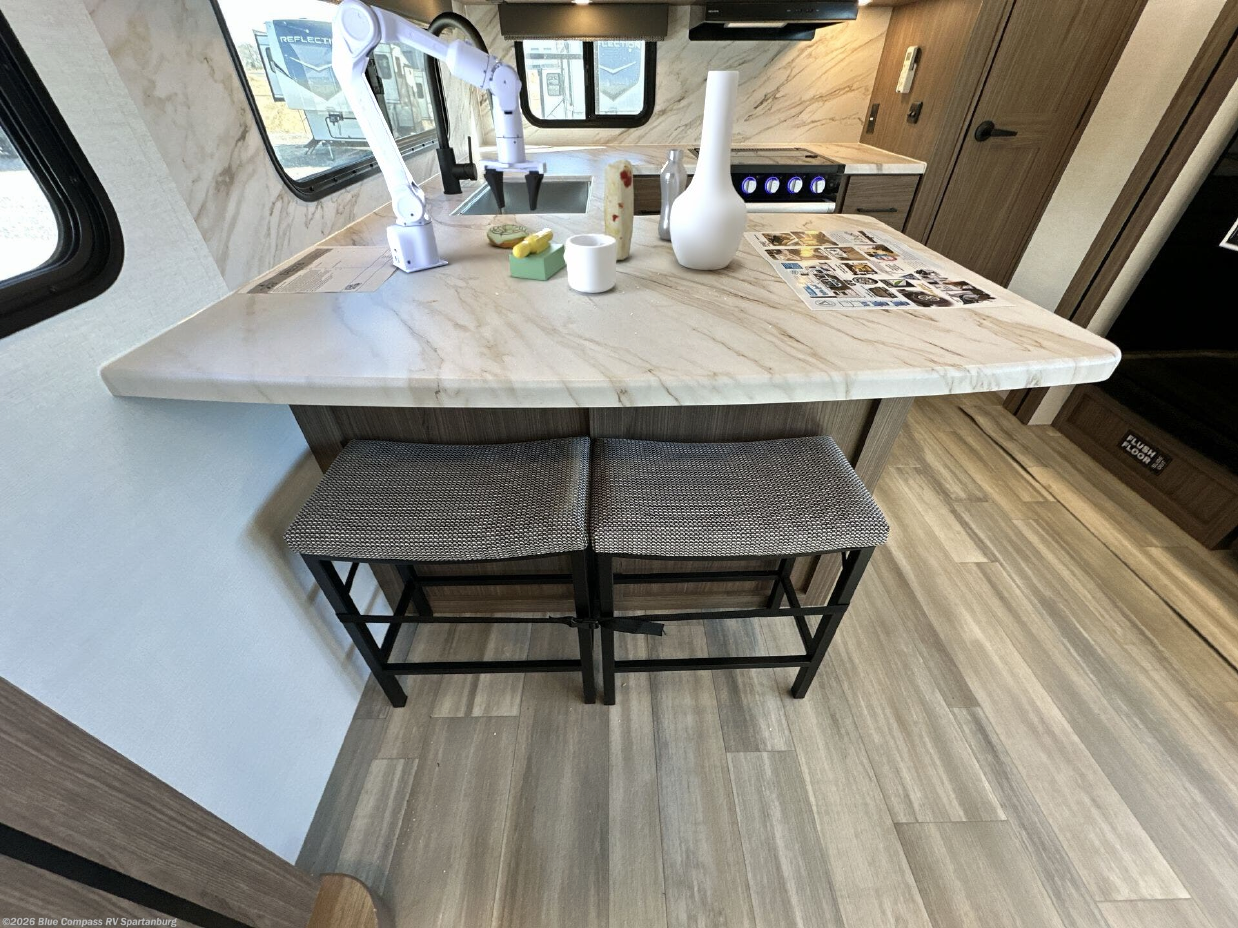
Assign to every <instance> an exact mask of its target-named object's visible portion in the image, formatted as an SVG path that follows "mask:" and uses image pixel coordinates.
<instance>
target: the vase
mask: <svg viewBox="0 0 1238 928" xmlns="http://www.w3.org/2000/svg"><path fill="white" fill-rule="evenodd" d="M706 79H707V80H706V89H705V101H704V112H703V119H702V120H703V122H702V131H701V138H700V147H699V154H698V158H697V164H696V167H695V172H694V175H693V177H692V179H691V182H690V183H689V185H688V187H687V188H685V191H684V192H683V193H682V194H681V195H680V196H679V197H678V198H677V199H676V200H675V202H674V203H673V206H672V209H671V214H670V234H671V240H670V241H671V245H672V249H673V253H674V255H675V257H676V259H677V261H678V264H680V265H681V266H682V267H686V268H689V269H692V270H700V271H713V270H714V271H715V270H716V271H717V270H720V269H725V268H726V267H728V266H729V264H730V263H731V262H732V260H733V258H734V257H735V256H736V254H737V252H738V249H739V247H740V245H741V243H742V240H743V237H744V234H745V231H746V226H747V222H748V221H747V220H748V209H747V205H746V203H745V200H744V199H743V198H742V196H740V194H738V191H736V188H735V187H734V185H733V181H732V176H731V175H732V174H731V154H732V153H731V151H732V140H733V131H734V130H733V129H734V121H735V114H736V104H737V97H738V90H739V82H740V81H739V80H740V71H738V70H708V73H707V78H706Z"/></svg>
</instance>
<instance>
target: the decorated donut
mask: <svg viewBox="0 0 1238 928" xmlns="http://www.w3.org/2000/svg"><path fill="white" fill-rule="evenodd" d="M530 235H531V234H530V230H529V229H528V228H527V227H526V226H523V225H520V224H510V223H505V224H500V225H493V226H491V227H489V228H488V229H487V231H486V237H487V239H488V241H489V242H490V244H491V245H493V246H496V247H500V248H503V249H507V248H510V249H511V248H512V249H513V248H514V247H515V246H516V245H518V244H519V243H521V242H523V241H524V239H525V238H526V237H528V236H530Z"/></svg>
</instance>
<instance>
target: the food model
mask: <svg viewBox="0 0 1238 928" xmlns="http://www.w3.org/2000/svg"><path fill="white" fill-rule="evenodd" d="M634 198H635V197H634V174H633V164H632V163H631V161H630V160H629V159H627V158H622V159H619V160H615V161H613V162H612V163H608V165H607V164H605V167H604V201H603V215H604V217H603V218H604V219H603V220H604V235H607V236H611V237H613V238H614V239H615V240H616V261H619V260H621V261H622V260H625V259H626V258H628V256H629V254H630V251H631V244H632V238H633V232H634V218H635V217H634V216H635V215H634V212H635V211H634V206H635V205H634V201H635V200H634Z"/></svg>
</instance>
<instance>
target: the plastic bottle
mask: <svg viewBox="0 0 1238 928" xmlns="http://www.w3.org/2000/svg"><path fill="white" fill-rule="evenodd" d="M666 155H667V156H666V159H667V162H666V163H665V165H664V166H663V167H662V169H661V171H660V175H659V177H660V178H659V179H660V189H661V190H660V191H661V207H660V214H659V220H658V226H657V233H658V235H659V237H660V238H661V239H663V240H667V241H668V240H669V241H671V234H670V214H671V209H672V206H673V203H674V202H675V200H676V199H677V198H678V197H679V196H680V195H681V194H682V193H683V192H684V191H686V186H687V185H686V184H687V180H688V173H687V170H686V167H685V165H684V164H683V160H684V149H680V148H669V149H667V154H666Z"/></svg>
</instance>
